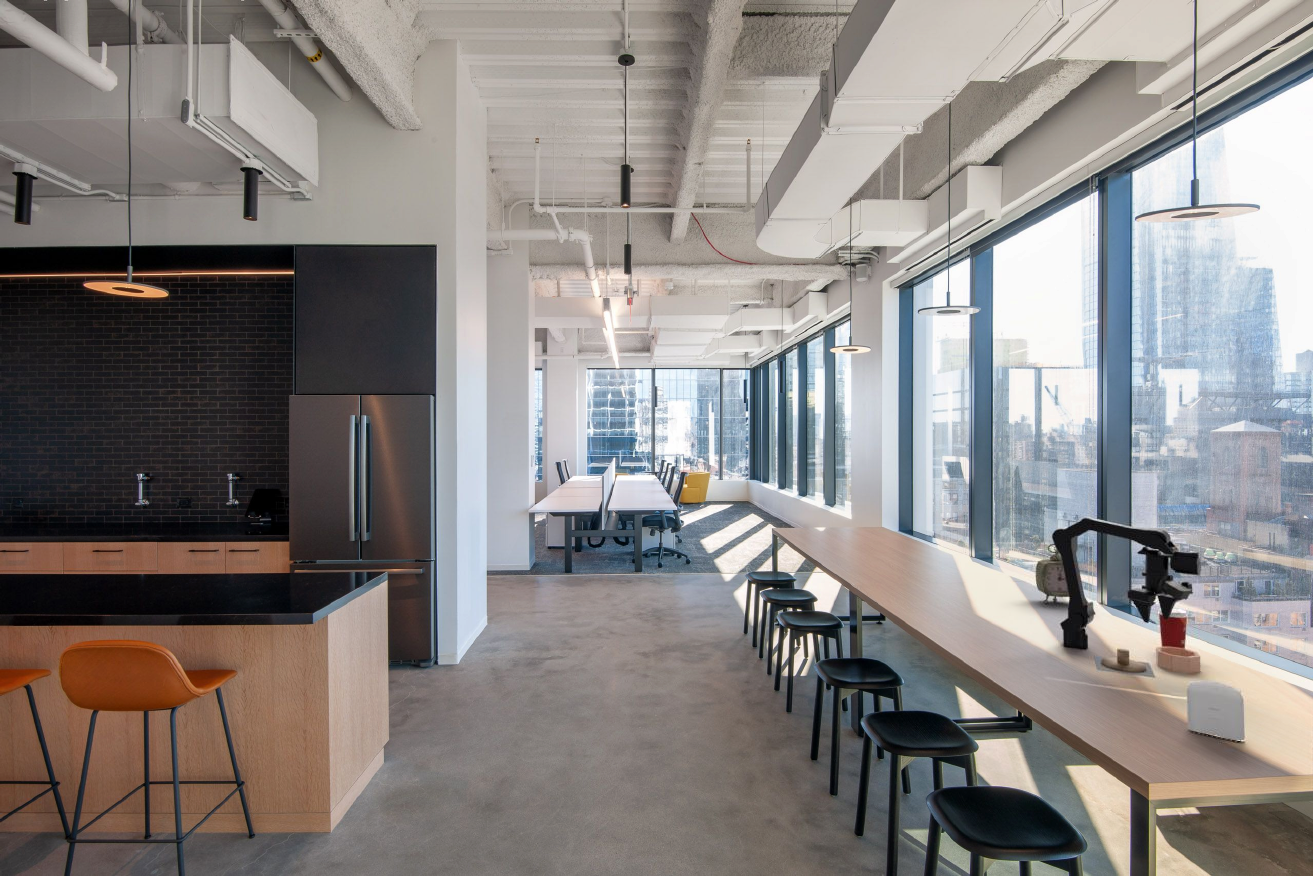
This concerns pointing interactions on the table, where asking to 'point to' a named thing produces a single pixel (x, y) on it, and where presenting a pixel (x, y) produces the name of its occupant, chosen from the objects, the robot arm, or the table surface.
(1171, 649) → the bowl
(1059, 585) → the tabletop clock
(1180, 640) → the paper cup
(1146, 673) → the mat
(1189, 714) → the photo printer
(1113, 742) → the table surface
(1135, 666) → the lid
